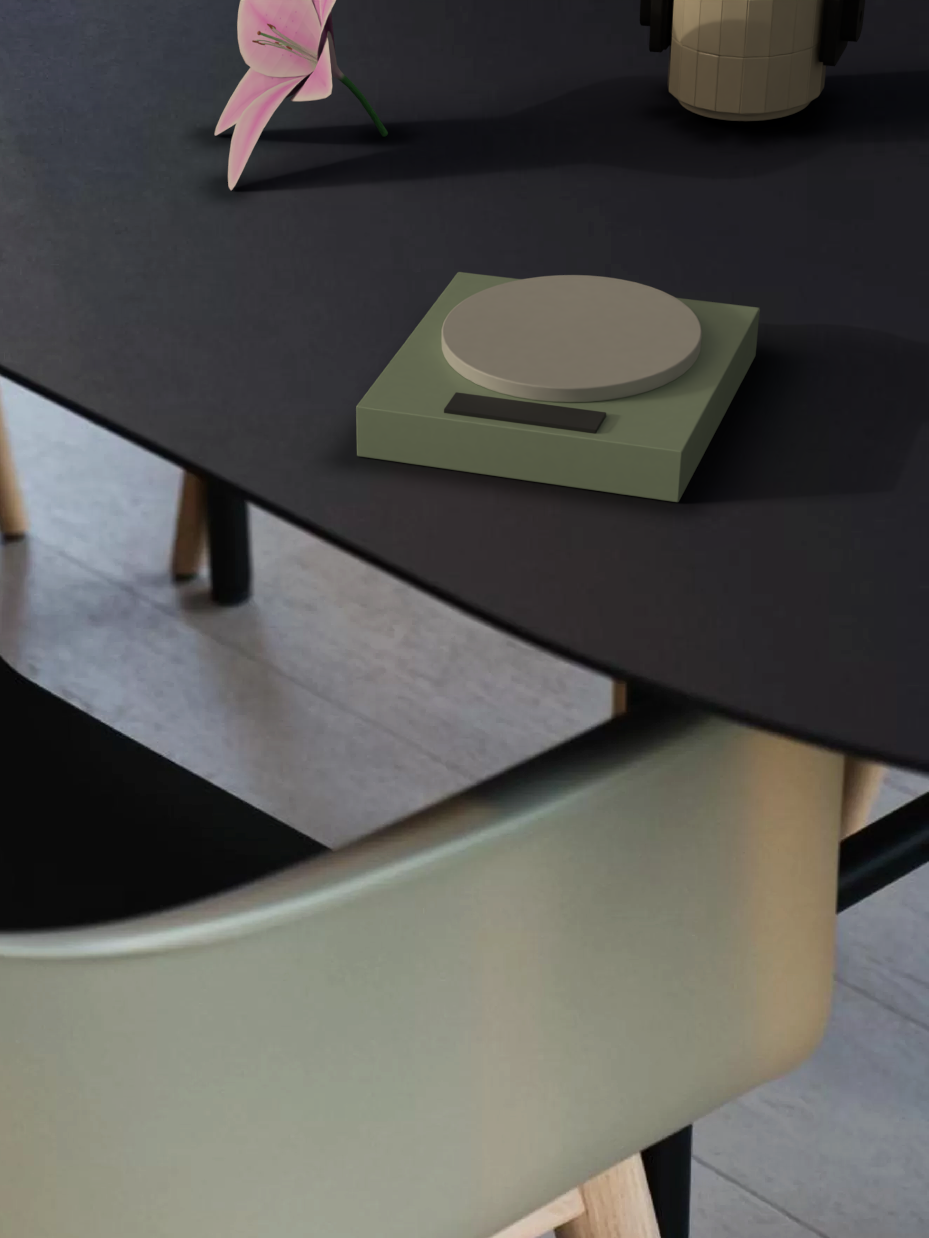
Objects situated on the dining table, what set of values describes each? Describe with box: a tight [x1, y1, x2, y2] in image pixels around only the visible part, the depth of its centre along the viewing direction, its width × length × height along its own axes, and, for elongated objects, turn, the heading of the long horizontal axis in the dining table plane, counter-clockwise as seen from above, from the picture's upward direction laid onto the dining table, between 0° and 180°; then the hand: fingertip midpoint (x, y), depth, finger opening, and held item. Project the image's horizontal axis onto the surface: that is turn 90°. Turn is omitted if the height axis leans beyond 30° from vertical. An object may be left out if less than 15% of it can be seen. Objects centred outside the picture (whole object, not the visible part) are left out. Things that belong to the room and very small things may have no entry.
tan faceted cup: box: [666, 0, 827, 122], centre depth 114 cm, size 7×7×6 cm
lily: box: [214, 0, 389, 191], centre depth 113 cm, size 12×12×10 cm
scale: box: [355, 271, 761, 503], centre depth 94 cm, size 12×12×3 cm
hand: (748, 45), depth 114 cm, fingers closed on tan faceted cup, 7 cm apart
